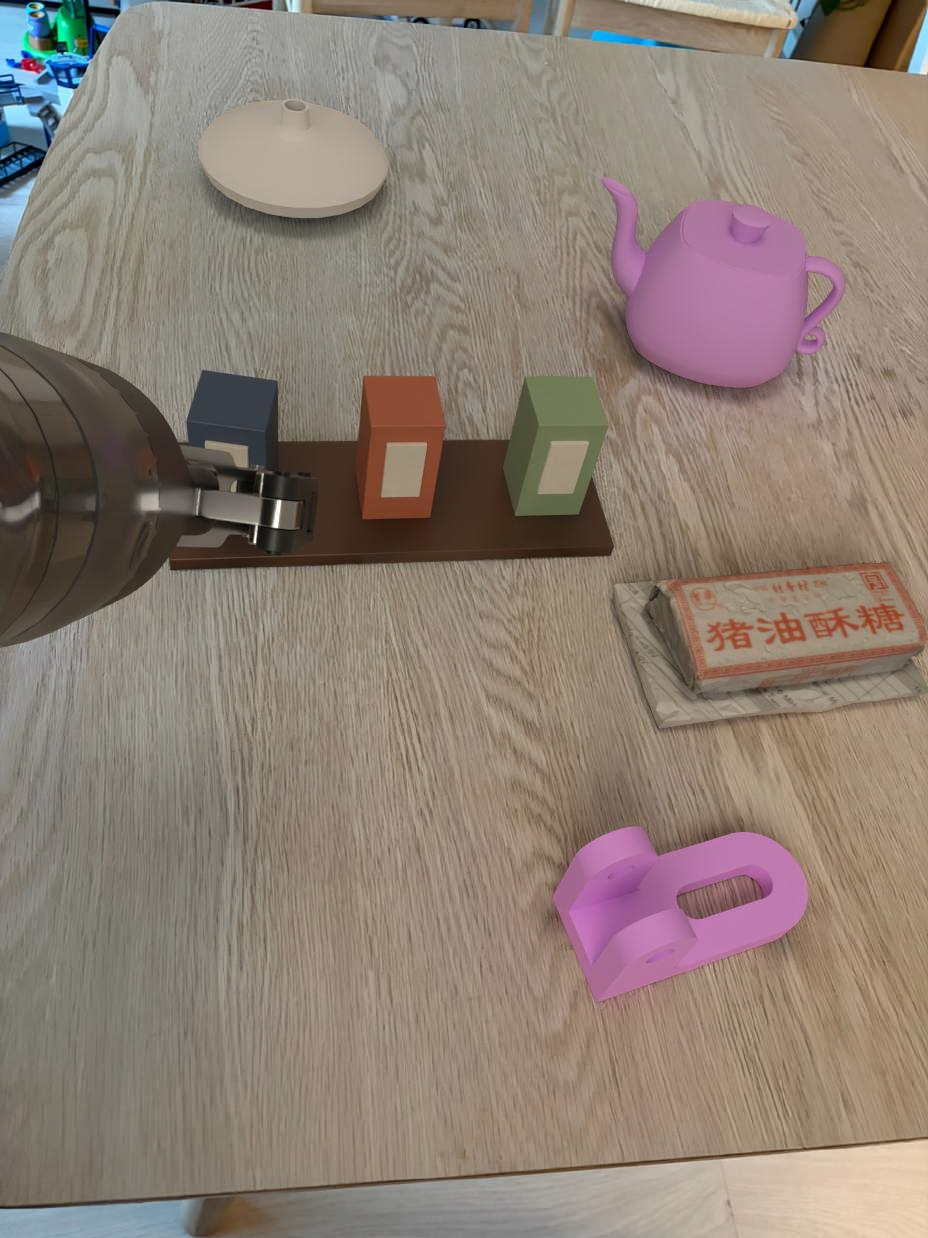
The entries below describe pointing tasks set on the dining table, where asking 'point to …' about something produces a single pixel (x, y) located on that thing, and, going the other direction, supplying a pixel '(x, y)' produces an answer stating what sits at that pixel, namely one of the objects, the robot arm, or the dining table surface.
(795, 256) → the teapot
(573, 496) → the green block
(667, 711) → the packaged product
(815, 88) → the dining table surface
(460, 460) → the brown board
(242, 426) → the navy box with label
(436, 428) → the orange block
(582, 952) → the bracket
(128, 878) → the dining table surface
